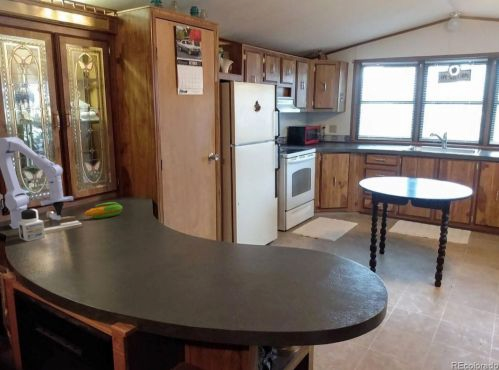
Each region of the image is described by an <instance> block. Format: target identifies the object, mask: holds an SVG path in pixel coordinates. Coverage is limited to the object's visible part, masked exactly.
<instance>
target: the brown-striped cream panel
mask: <svg viewBox="0 0 499 370" xmlns="http://www.w3.org/2000/svg"><path fill="white" fill-rule="evenodd" d="M47 218H48V219H47V220H42V221H43V224H44V232H45V235H48V234H53V233H56V232H61V231H68V230H72V229H77V228H83V223H82V222H81V221H80V220H77V216H74V215H73V216H64V217H61V220H55V219H52V218H50V217H47Z"/></svg>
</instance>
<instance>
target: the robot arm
mask: <svg viewBox="0 0 499 370" xmlns="http://www.w3.org/2000/svg"><path fill="white" fill-rule="evenodd" d="M16 152H19V153H21V154H23V155H24V156H25V157H26V158H28V159H30V160H31V161H32V164H33V165H34V166H36V167H37V168H39V170H41V171H43V173H44V176H45V177H46V180H47V183H48V188H49V189H48V190H49V199H45V200H40V206H45V205H46V206H47V205H52V206H53V208H54V209H55V211H56V214H58V215H60V216H61V217H62V210H63V208H64V205H65V202H69V201H71V202H72V201H74V196H73V195H68V196H64V191H63V181H62V175H63V172H64V169H63V167H62V166H61V165H60V164H57V163H54V162H53V161H51V160H50V159H48V158H47V156H46V155H43V154H37V152H35V151H34V150H33V149H32V148H30V147H29V146H28V145H27V144H26V143H25V142H24V140H22V139H21V138H20V137H19V136H10V137H8V136H7V137H0V171H1V174H2V177H3V181H4V182H5V183H4V184H5V187H6V190H7V192H5V194H4V199H5V200H4V204H5V207H6V208H7V209H8V211H9V215H10V222H11V223H9V226H10V227H11V228H12V229H13V230H14V229H19V227H18V222H20V221H22V217H21V212H22V211H23V210H27V209H28V204H29V203H30V198H29V195H27V193H26V191H25V190H24V189H22V188H21V186H20V183H19V179H18V177H17V173H16V170H15V169H16V168H15V166H14V164H13V160H12V158H11V157H12V156H13V155H14V154H15V153H16Z"/></svg>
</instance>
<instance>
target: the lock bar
mask: <svg viewBox="0 0 499 370" xmlns="http://www.w3.org/2000/svg"><path fill="white" fill-rule="evenodd" d="M48 217H50V218H52V219H55V220H61V218H62V215H61V216H60V215H58V214H57V212H55V211H54V210H50V211H48V210H47V211H46V218H48Z"/></svg>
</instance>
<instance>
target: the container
mask: <svg viewBox="0 0 499 370" xmlns="http://www.w3.org/2000/svg"><path fill="white" fill-rule="evenodd" d="M21 217H22V221H20V222H18V227H19V228H18V233H19V239H21V240H24V241H26V242H30V241H31V242H32V241H34V240H38V239H43V238H45V237H46V234H45V232H44V224H43V221H44V220H42V219H39V211H38V210H37V209H35V208H27V210H23V211H22V212H21Z"/></svg>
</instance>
